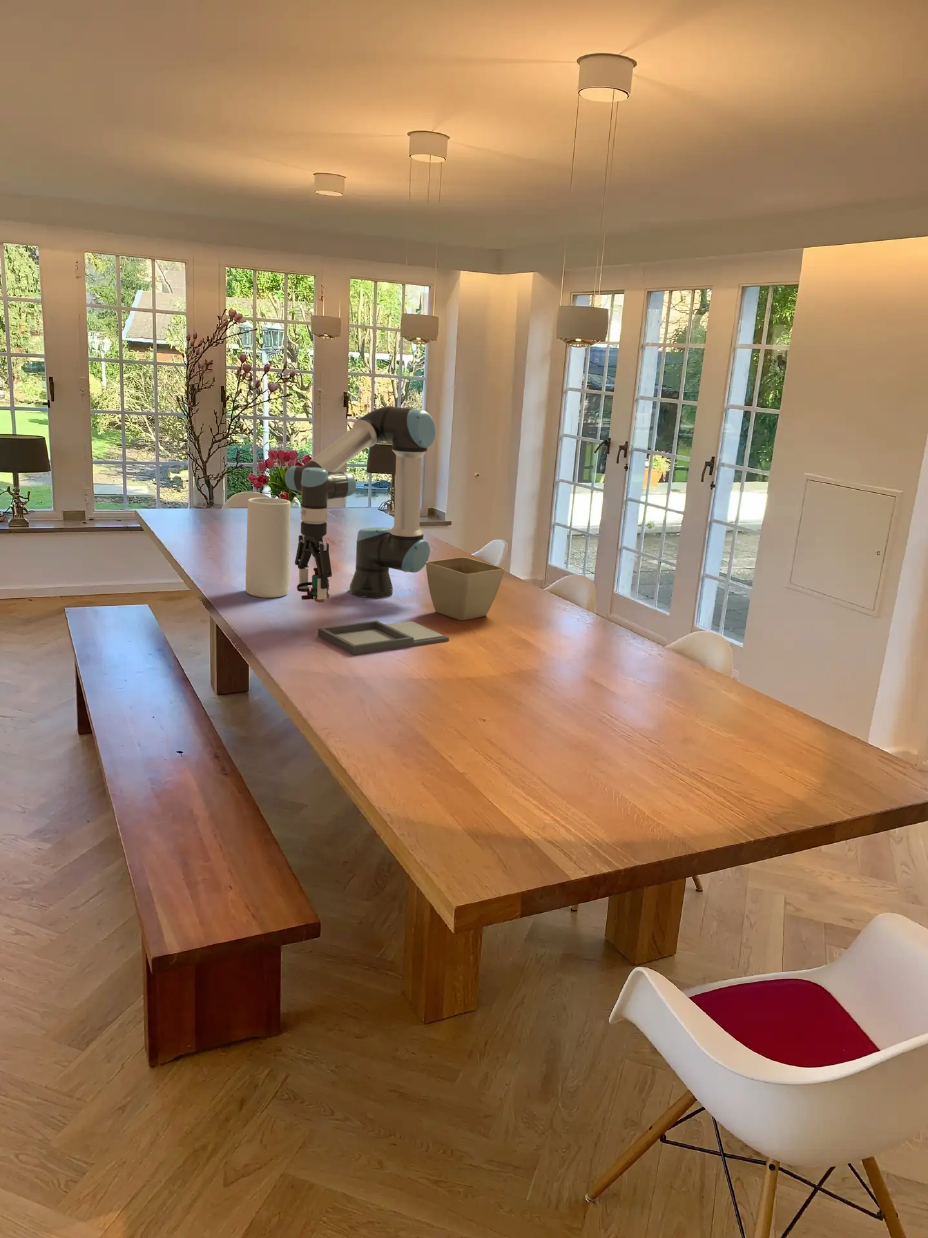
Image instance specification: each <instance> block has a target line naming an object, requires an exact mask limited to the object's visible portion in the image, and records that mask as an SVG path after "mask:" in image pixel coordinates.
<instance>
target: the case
mask: <svg viewBox="0 0 928 1238" xmlns="http://www.w3.org/2000/svg"><path fill="white" fill-rule="evenodd" d="M317 637H319V638H320V639H322V640H324V641H326V642H328V643H329V644H332V645H333V646H335V647H337V648H339V649H340V650H342V651H344V652H347V653H348V654H350V655H352V656H357V655H363V654H370V653H377V652H385V651H390V650H397V649H398V650H399V649H403V648H404V649H405V648H409V647H417V646H424V645H430V644H431V645H432V644H436V643H437V644H438V643H443V642H444V643H445V642H449V640H450V638H449V637H448V636H446V635H444V634H441V633H440V632H437V631H435V630H432V629H430V628H428V627H426V626H424V625H421V624H419V623H417V622H414V621H412V620H407V621H400V622H393V623H384V622H383V623H382V622H381V621H379V620H373V621H365V622H356V623H348V624H342V625H333V626H324V627H318V628H317Z"/></svg>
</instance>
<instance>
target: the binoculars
mask: <svg viewBox="0 0 928 1238" xmlns="http://www.w3.org/2000/svg"><path fill="white" fill-rule="evenodd" d="M313 571H314V574H313V575H311V581H308V582H306V583H301V584H299V583H298V585H297V586H296V591H298V592H300V593H306V594H305V595H301V596H300V597H301V600H302V601H305V600H314V601H315V602H317V603H325V599H319V600H318V599H317V588H318V578H317V577H318V576H319V573H318V569H317V567H313ZM329 582H330V579H329V577H328V578H327V599H330V594H329V590H330V583H329ZM302 586H308V588H306V589H302V588H300V587H302ZM327 599H326V600H327Z"/></svg>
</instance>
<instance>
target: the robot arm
mask: <svg viewBox="0 0 928 1238" xmlns="http://www.w3.org/2000/svg"><path fill="white" fill-rule="evenodd" d="M435 438H436V425H435V421H434V419H433V417H432V415H431V414H430V413H428V412H427V411H425V410H423V409H418V408H409V407H399V406H398V407H397V406H388V405H387V406H382V407H379V408H375V409H374V410H371V411H370V412H367V413H366V414H364V415H362V416H361V417H360V418H358V419H357V420H356V421H354V423H353V425H352V428H350V429H349V430H348V431H346V432H345V433H344V434H342V436H340V437H339V438H337V439H336V440H335V441H334V442H332V443H330V444H329V445H328V446H327V447H326V448H323V450H322V451H320V452H319V453H318V454H316V455H315V456H314V457H312V458H311V459H310V460H308V461H307V462H306V463H305V464H303V465H302V466H300V465H292V466H290V467H288V469H287V470H286V472H285V475H284V482H285V485H286V487H287V488H288V489H289V490H293V491H295V492H299V493H301V497H300V498H301V499H300V500H301V501H300V502H301V507H300V508H301V509H300V510H301V511H300V516H301V517H300V519H301V520H302V521H301V522H300V535H298V543H297V549H296V555H295V560H294V564H295V566H297V568H298V585H299V584H301V583H306V582H309V562H310V560H311V557H313V558H314V561H315V566H316V568H317V569H318V573H319V576H318V577H317V578H318V588H317V599H318V600H319V599H324V600H325V599H326V600H327V578H328V579H329V578H331V577H333V573H332V566H331V557H330V551H329V550H330V544H329V542H324V540H323V539H324V538H323V537H324V536H326V535H327V529H328V527H327V525H328V524H327V521H328V500H335V499H344V498H346V497H350V496H352V495H353V494H354V493H355V491H356V489H357V482H356V479H355V476H354V475H353V474H352V473H351V472H350V471H349V472H348V471H338V470H340V469H341V468H342V467H343V466H345V465H346V464H348V462H349V461H351V460H352V459H353V458H354V457H356V456H358V455H359V454H360V453H361V452H362V451H363V450H365V449H366V448H371V447H373V446H375V445H376V444H378V443H391V451H392V452H393V453H394V454H395V481H394V482H395V484H394V485H395V486H394V488H395V489H394V511H393V512H394V515H393V518H394V519H393V527H392V528H390V527H382V526H381V527H379V526H378V527H365V528H361V529H360V530H358V532H357V536H356V537H357V538H356V539H357V540H356V552H355V553H356V554H355V555H356V556H355V570H354V574H353V576H352V578H351V582H350V583H349V593H350V594H351V595H354V596H357V597H363V598H370V599H371V598H372V599H377V598H378V599H380V598H382V599H383V598H388V597H390V596H392V595H393V591H394V589H393V588H394V587H393V583H392V580H391V576H390V569H392V570H397V571H401V572H405V573H414V574H415V573H418V572H420V571H422V570H423V569H424V567H426V562H428V561H429V557H430V555H431V547H430V543H429V542H428V540H425V539H424V537H425V535H424V534H425V533H424V531H423V530H422V529H421V527H420V522H421V520H420V519H421V518H420V517H421V516H420V515H421V500H422V499H421V496H422V495H421V494H422V493H421V491H422V473H423V472H422V470H423V456H425V455H426V453H427V452H428V448H430V447H431V446H432V445H433V443H434V440H435ZM337 471H338V472H337ZM308 587H309V585H308V586H302V587H300V588H302V589H306V588H308Z"/></svg>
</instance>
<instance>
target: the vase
mask: <svg viewBox="0 0 928 1238" xmlns="http://www.w3.org/2000/svg"><path fill="white" fill-rule="evenodd" d="M291 505H292V504H291V501H290V500H287V499H284V498H277V497H275V498H274V497H251V498H248V499H247V516H246V517H247V519H246V520H247V522H246V548H245V549H246V554H245V556H246V557H245V558H246V559H245V561H246V562H245V591H246V593H247V594H249V595H250V596H252V597H256V598H264V599H268V598H269V599H271V598H275V599H276V598H281V597H284V596H287V595H288V593H289V591H290V590H289V587H290V586H289V585H290V561H291V560H290V559H291V558H290V557H291V554H290V552H291V549H290V548H291V513H292V512H291V510H292V509H291Z"/></svg>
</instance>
